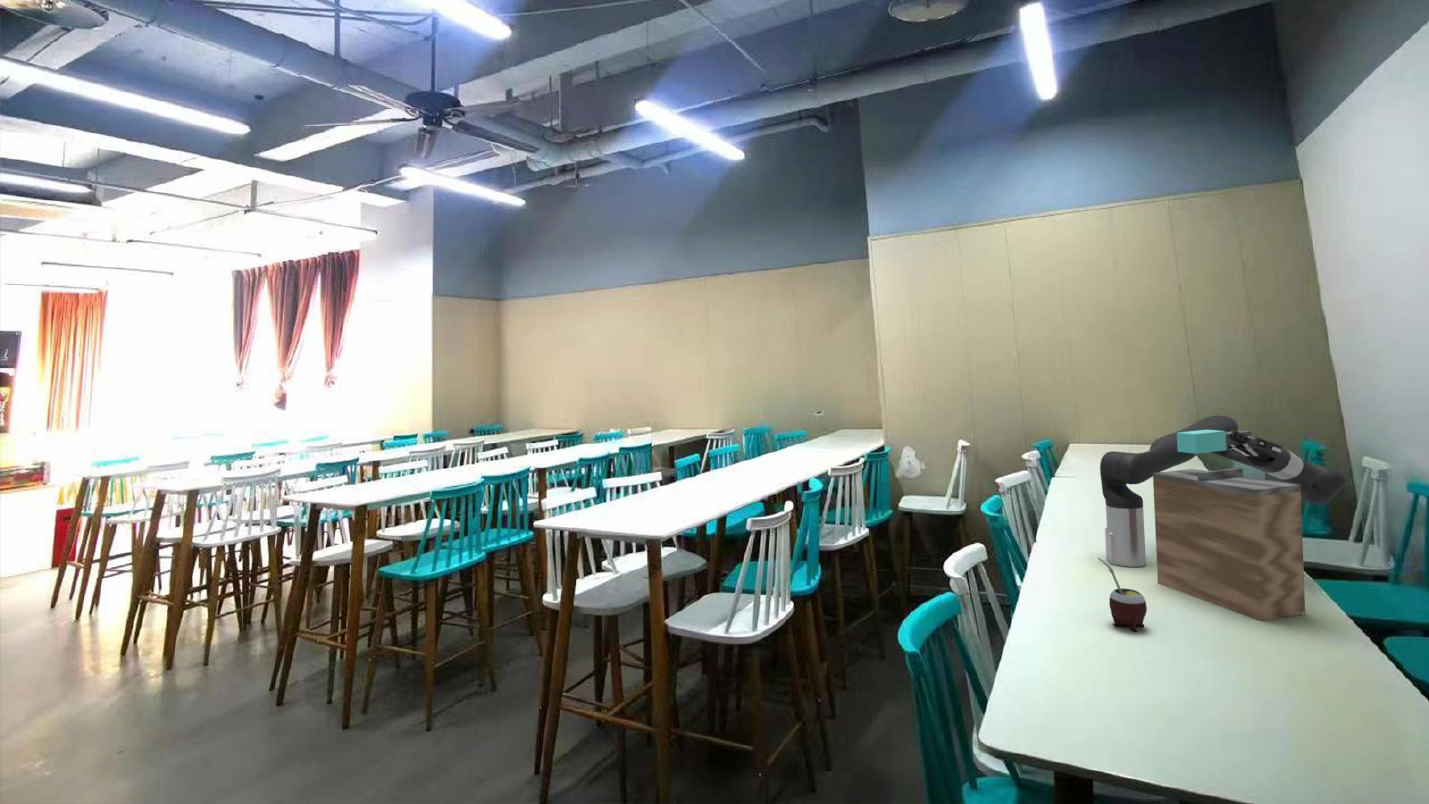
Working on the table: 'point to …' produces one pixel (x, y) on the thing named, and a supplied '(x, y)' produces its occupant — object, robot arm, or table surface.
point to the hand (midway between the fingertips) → (1225, 433)
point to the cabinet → (1231, 540)
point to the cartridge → (1205, 441)
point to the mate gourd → (1126, 606)
